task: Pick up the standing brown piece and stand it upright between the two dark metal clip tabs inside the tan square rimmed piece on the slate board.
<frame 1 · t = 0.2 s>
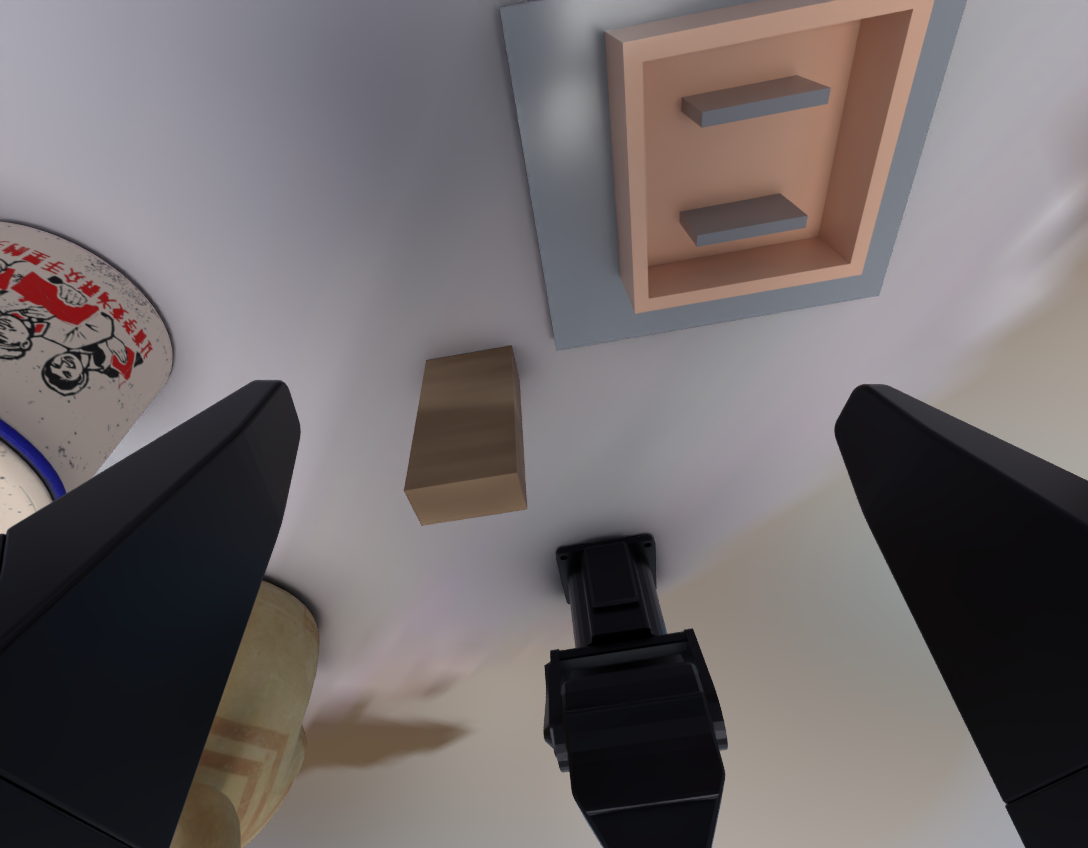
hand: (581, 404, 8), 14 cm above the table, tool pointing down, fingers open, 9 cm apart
slate board: (716, 171, 20), on the table
teacup with lid: (19, 298, 21), on the table
brown piece: (474, 370, 25), on the table
ceramic vessel: (228, 612, 37), on the table
tan square rimmed piece: (727, 149, 18), resting on slate board
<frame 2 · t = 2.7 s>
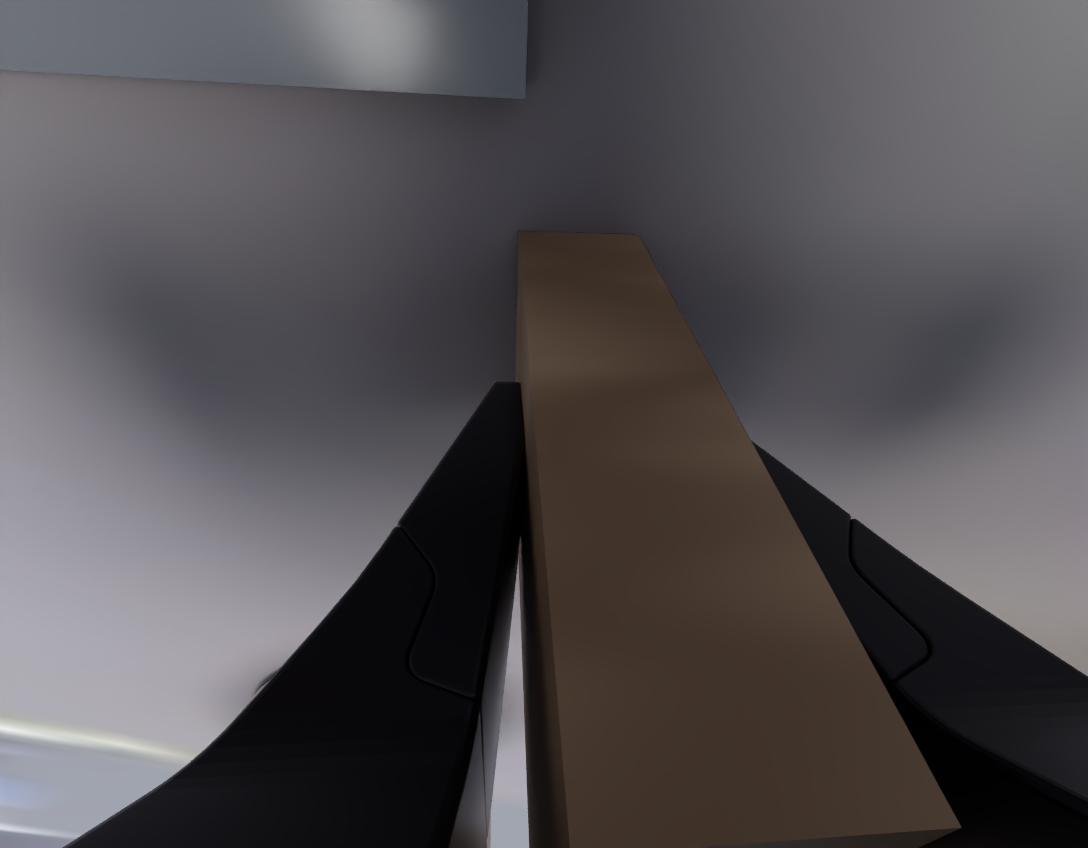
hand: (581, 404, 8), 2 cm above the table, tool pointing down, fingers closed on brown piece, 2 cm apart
brown piece: (568, 338, 10), on the table, touching gripper
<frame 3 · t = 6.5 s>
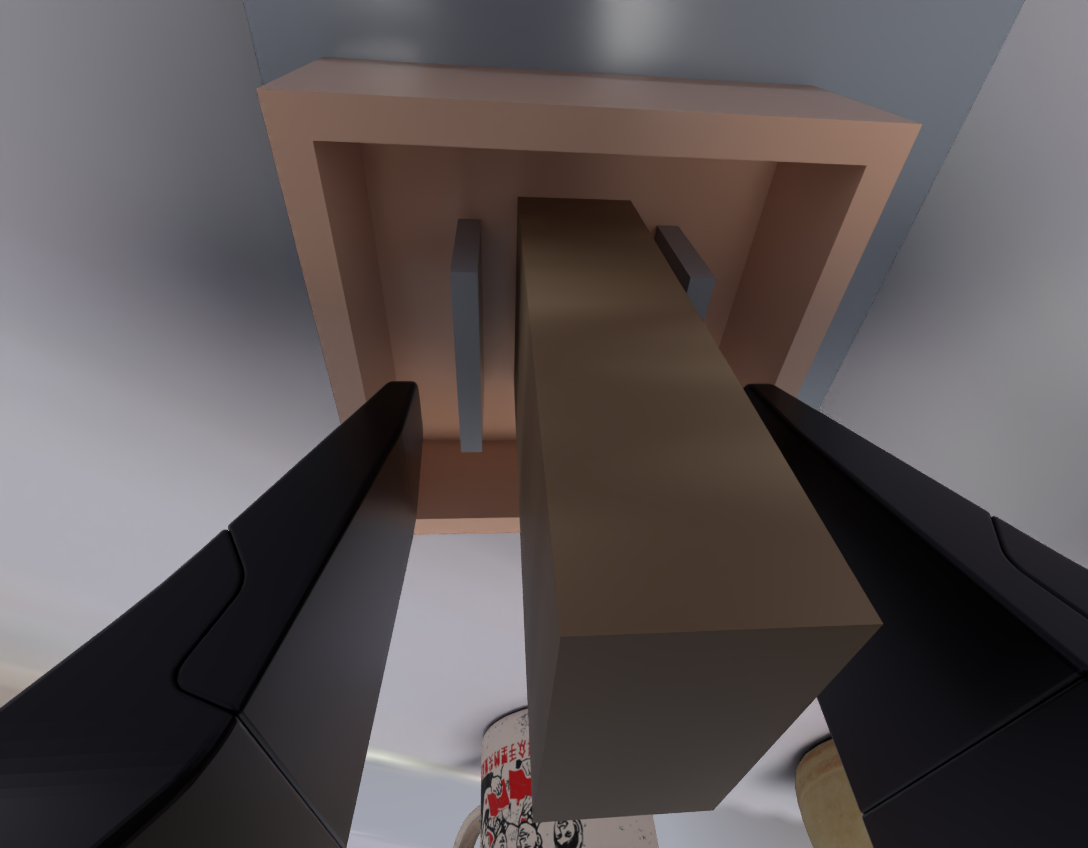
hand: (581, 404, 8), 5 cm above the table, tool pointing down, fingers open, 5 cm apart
slate board: (599, 278, 12), on the table
teacup with lid: (537, 734, 30), on the table
brown piece: (565, 302, 11), point 2 cm above the table, touching tan square rimmed piece
ceramic vessel: (887, 743, 36), on the table
tan square rimmed piece: (559, 298, 11), resting on slate board
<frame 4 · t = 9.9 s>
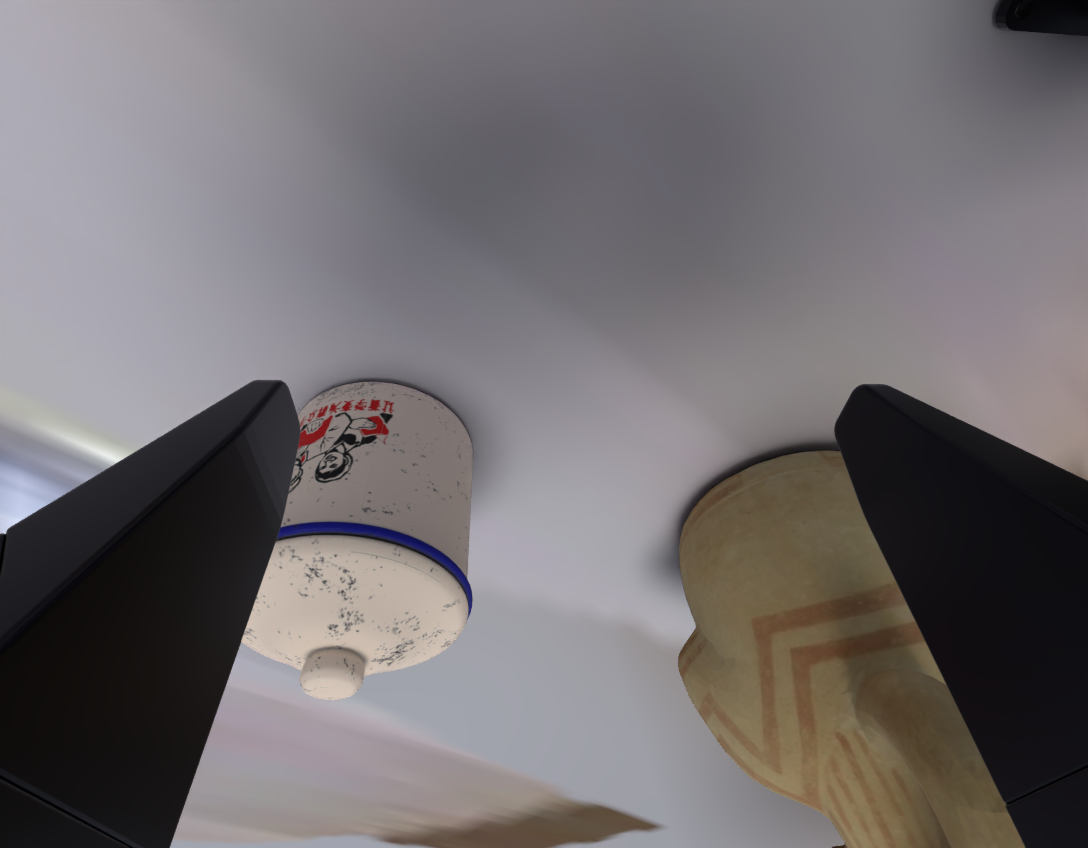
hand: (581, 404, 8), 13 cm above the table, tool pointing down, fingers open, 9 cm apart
teacup with lid: (366, 458, 27), on the table
ceramic vessel: (782, 515, 32), on the table
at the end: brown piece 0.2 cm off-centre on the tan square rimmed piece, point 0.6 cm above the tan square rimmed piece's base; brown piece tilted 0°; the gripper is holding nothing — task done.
